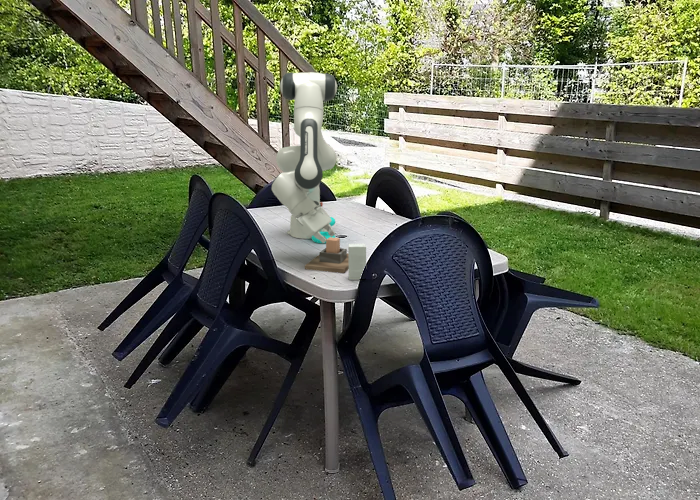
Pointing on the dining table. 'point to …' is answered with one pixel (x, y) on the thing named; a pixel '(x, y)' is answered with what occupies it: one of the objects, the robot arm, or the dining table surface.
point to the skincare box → (356, 260)
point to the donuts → (325, 233)
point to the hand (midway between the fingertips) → (329, 238)
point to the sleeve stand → (330, 262)
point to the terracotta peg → (333, 245)
